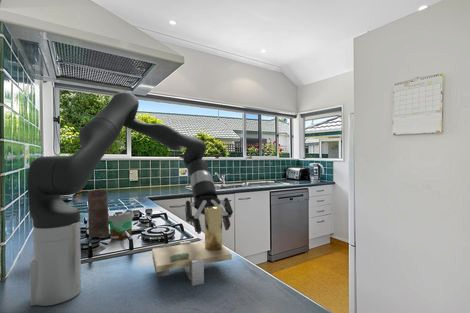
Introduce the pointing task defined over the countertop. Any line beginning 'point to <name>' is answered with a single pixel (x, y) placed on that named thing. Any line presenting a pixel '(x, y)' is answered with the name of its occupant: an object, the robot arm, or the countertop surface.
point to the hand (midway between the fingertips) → (213, 230)
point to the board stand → (195, 270)
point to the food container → (120, 225)
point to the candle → (98, 213)
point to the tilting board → (185, 256)
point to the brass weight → (213, 228)
